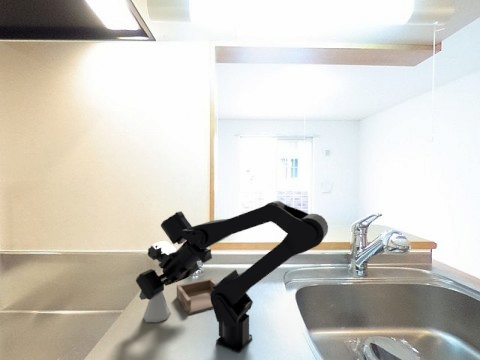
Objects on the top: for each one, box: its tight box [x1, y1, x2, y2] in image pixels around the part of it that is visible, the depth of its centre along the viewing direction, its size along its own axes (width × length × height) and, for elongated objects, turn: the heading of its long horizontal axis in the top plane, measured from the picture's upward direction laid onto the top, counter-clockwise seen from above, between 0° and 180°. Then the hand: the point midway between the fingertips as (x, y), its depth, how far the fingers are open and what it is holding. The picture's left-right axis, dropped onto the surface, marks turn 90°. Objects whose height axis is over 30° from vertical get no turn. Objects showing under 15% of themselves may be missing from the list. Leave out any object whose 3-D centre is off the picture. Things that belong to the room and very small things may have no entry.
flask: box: [143, 290, 171, 323], centre depth 72 cm, size 7×7×10 cm
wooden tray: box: [176, 277, 218, 316], centre depth 81 cm, size 12×12×4 cm
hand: (153, 290), depth 72 cm, fingers open, 9 cm apart
